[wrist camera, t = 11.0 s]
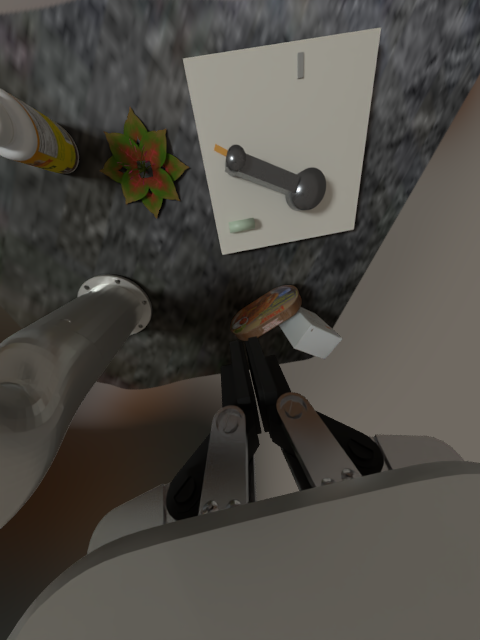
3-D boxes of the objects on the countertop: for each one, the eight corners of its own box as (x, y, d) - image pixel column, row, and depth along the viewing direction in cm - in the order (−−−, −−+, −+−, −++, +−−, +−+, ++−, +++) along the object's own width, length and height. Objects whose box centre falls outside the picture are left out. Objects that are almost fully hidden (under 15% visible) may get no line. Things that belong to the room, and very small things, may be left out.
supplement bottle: (34, 164, 25) (-63, 134, 16) (29, 111, 23) (-88, 42, 14) (82, 182, 27) (16, 164, 18) (81, 134, 24) (5, 85, 15)
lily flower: (161, 233, 31) (153, 234, 27) (86, 172, 27) (63, 164, 23) (203, 168, 28) (201, 159, 24) (126, 85, 23) (107, 56, 19)
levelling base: (221, 253, 34) (222, 256, 31) (185, 70, 23) (180, 47, 20) (346, 229, 34) (359, 229, 31) (368, 41, 24) (392, 14, 20)
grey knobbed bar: (321, 179, 28) (337, 173, 25) (307, 215, 30) (320, 214, 27) (229, 140, 25) (231, 126, 21) (221, 184, 27) (222, 178, 23)
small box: (275, 320, 42) (292, 348, 33) (289, 300, 40) (311, 324, 31) (302, 332, 45) (324, 360, 36) (316, 313, 43) (344, 339, 34)
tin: (287, 279, 38) (305, 294, 31) (293, 291, 39) (311, 307, 32) (227, 317, 40) (230, 339, 33) (235, 327, 42) (240, 350, 35)
